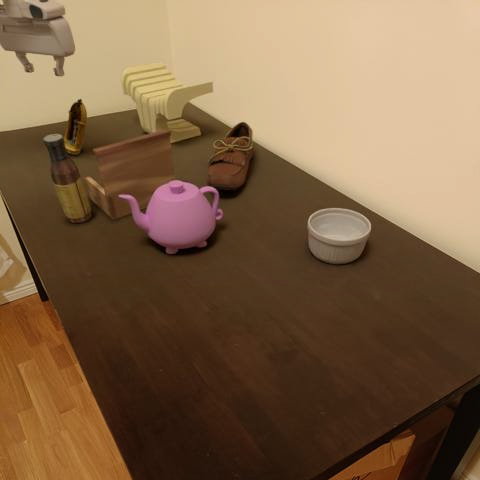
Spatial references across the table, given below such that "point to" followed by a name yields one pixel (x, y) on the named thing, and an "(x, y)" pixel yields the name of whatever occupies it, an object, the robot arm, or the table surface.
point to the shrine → (75, 128)
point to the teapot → (178, 215)
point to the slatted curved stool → (161, 99)
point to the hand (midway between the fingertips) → (45, 73)
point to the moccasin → (231, 159)
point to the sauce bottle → (67, 181)
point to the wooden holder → (131, 172)
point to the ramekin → (337, 235)
